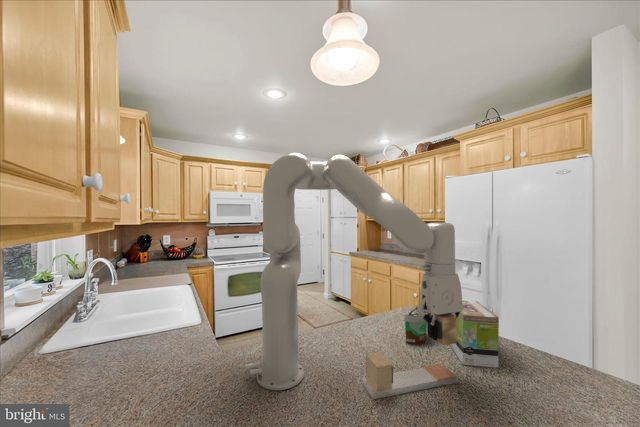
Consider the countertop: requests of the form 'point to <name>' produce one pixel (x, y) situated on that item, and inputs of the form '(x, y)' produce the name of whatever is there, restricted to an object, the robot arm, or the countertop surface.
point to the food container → (415, 328)
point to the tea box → (477, 336)
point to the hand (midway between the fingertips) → (441, 336)
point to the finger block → (446, 329)
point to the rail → (401, 377)
